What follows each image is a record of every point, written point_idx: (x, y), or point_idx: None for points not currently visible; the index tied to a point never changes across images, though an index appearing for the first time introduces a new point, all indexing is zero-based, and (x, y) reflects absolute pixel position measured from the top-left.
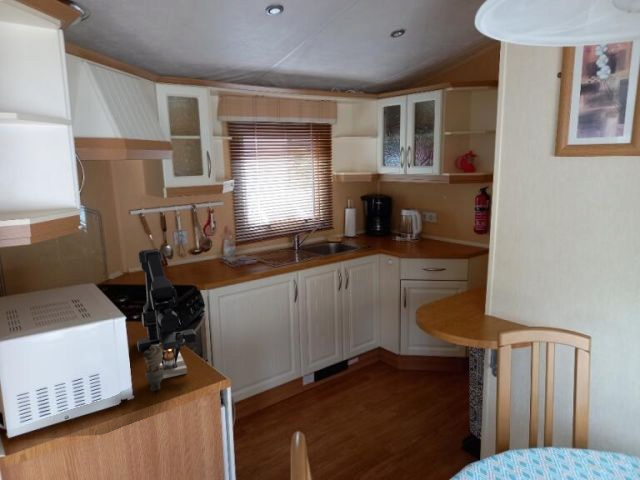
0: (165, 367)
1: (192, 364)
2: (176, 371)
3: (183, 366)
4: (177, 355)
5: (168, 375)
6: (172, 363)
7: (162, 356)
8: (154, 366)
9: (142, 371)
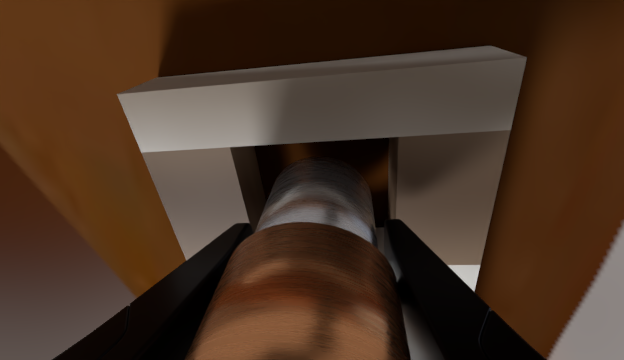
0: (368, 194)
1: (141, 220)
2: (247, 79)
3: (164, 143)
4: (160, 286)
5: (349, 64)
6: (276, 202)
7: (429, 328)
8: None
9: (544, 274)
